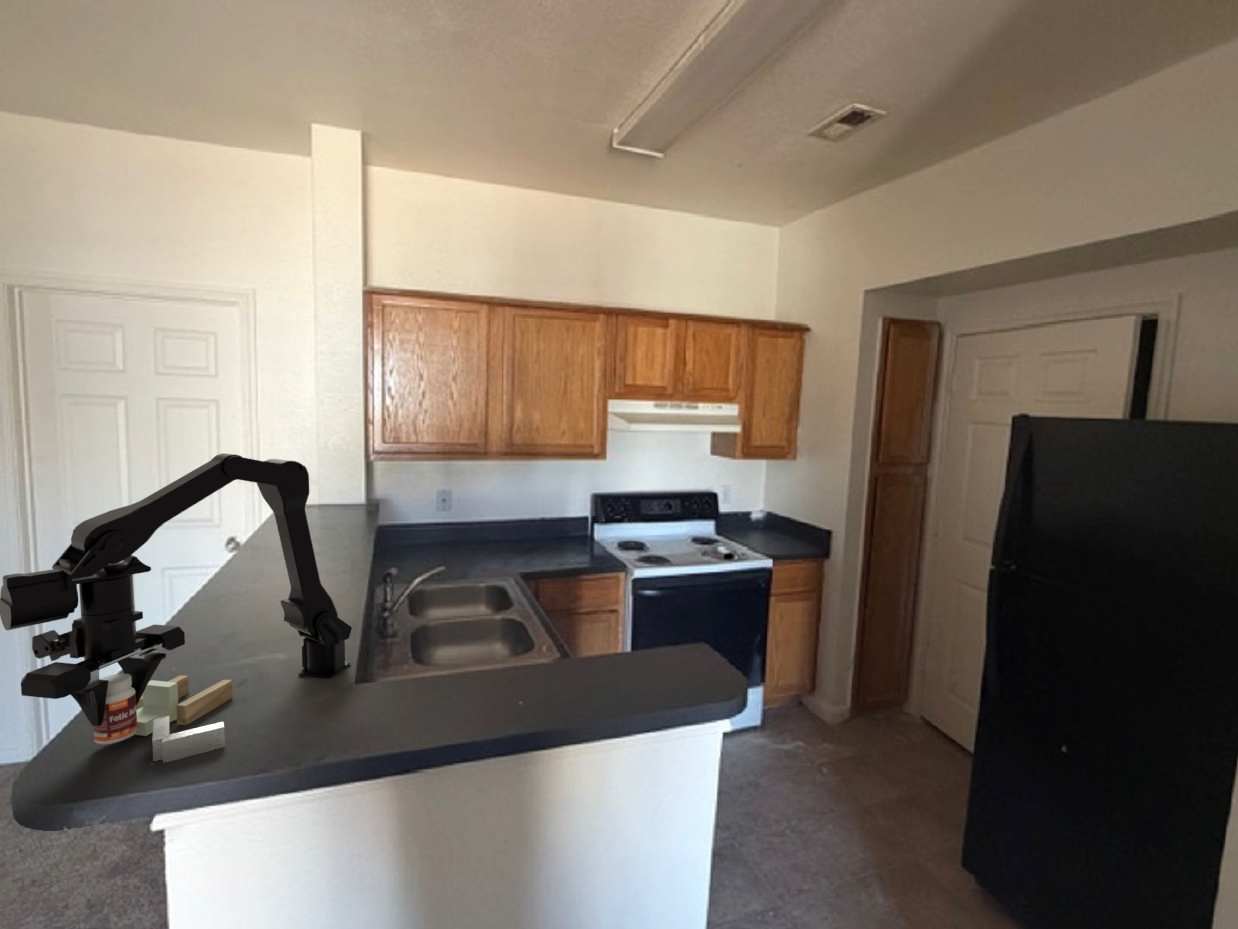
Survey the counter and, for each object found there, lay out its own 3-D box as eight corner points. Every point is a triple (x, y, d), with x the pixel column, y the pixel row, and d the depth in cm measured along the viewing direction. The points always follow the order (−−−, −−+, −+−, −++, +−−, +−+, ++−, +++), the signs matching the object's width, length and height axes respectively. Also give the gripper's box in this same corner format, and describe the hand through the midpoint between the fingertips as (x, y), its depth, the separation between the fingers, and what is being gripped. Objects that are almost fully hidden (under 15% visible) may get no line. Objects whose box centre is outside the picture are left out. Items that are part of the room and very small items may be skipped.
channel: (232, 697, 100) (232, 680, 100) (186, 725, 91) (185, 706, 91) (180, 692, 101) (180, 675, 101) (130, 719, 92) (129, 700, 92)
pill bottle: (113, 747, 83) (110, 688, 82) (85, 743, 83) (81, 685, 83) (146, 729, 87) (143, 673, 86) (119, 725, 88) (115, 670, 87)
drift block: (179, 717, 93) (177, 682, 92) (146, 736, 87) (144, 699, 87) (153, 714, 93) (151, 680, 93) (118, 732, 88) (116, 696, 88)
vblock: (232, 742, 87) (231, 722, 86) (195, 767, 81) (194, 745, 80) (162, 734, 88) (161, 715, 88) (121, 758, 82) (120, 737, 82)
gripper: (122, 586, 94) (128, 682, 95) (-21, 628, 76) (-11, 747, 77) (185, 590, 92) (190, 688, 94) (55, 635, 74) (63, 755, 75)
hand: (114, 716), depth 85 cm, fingers closed on pill bottle, 5 cm apart
